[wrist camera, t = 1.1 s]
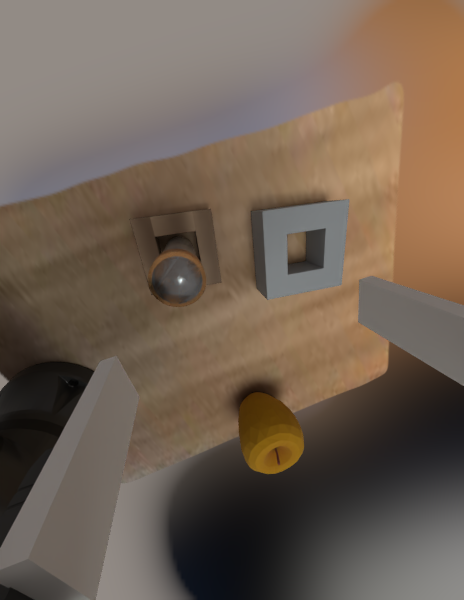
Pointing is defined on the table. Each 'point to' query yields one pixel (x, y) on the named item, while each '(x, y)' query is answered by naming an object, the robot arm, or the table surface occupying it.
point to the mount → (175, 224)
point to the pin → (177, 274)
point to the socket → (319, 247)
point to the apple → (269, 434)
